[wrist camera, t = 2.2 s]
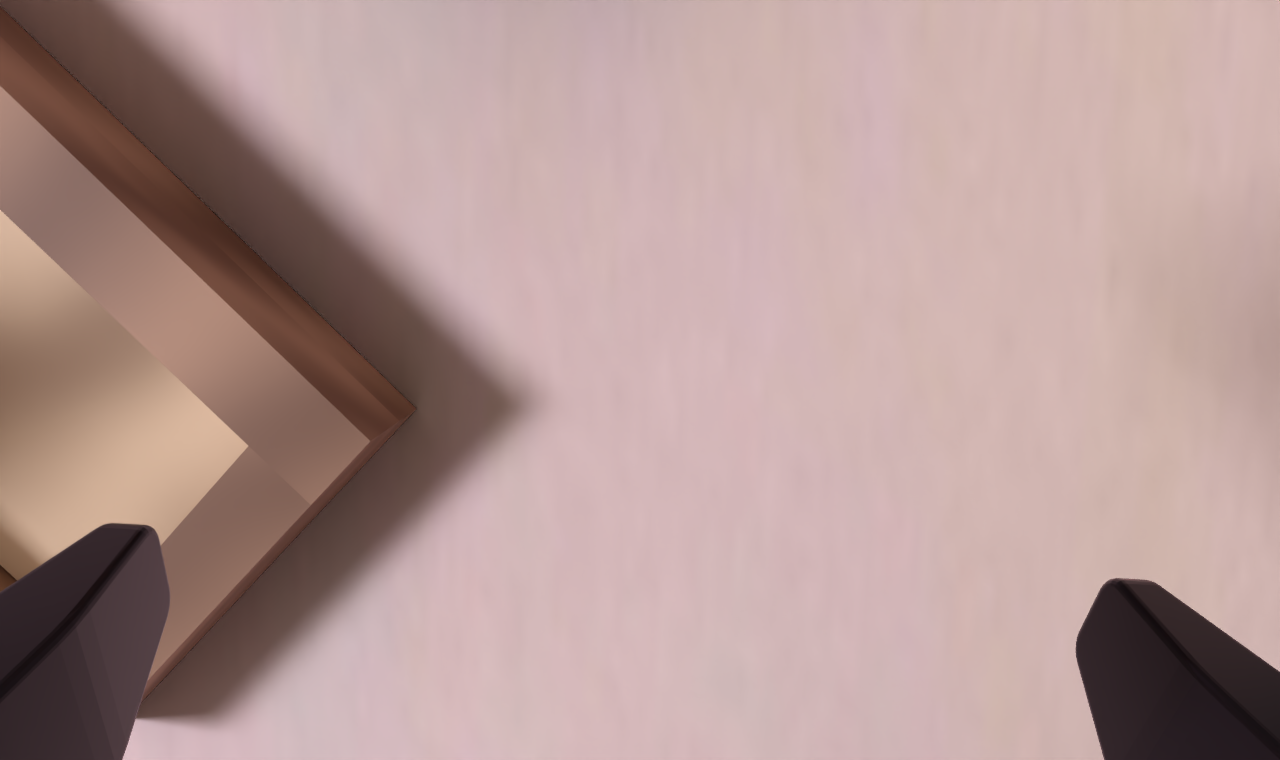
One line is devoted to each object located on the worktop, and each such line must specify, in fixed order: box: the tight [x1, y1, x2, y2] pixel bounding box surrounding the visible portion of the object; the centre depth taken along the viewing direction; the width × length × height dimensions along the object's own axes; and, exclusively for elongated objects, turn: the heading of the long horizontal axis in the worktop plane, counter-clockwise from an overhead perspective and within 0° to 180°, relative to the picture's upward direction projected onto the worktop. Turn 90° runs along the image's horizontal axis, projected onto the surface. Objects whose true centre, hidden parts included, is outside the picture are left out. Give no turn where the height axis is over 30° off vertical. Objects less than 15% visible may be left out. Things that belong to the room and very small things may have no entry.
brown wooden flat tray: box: [0, 7, 416, 702], centre depth 22 cm, size 14×12×2 cm
